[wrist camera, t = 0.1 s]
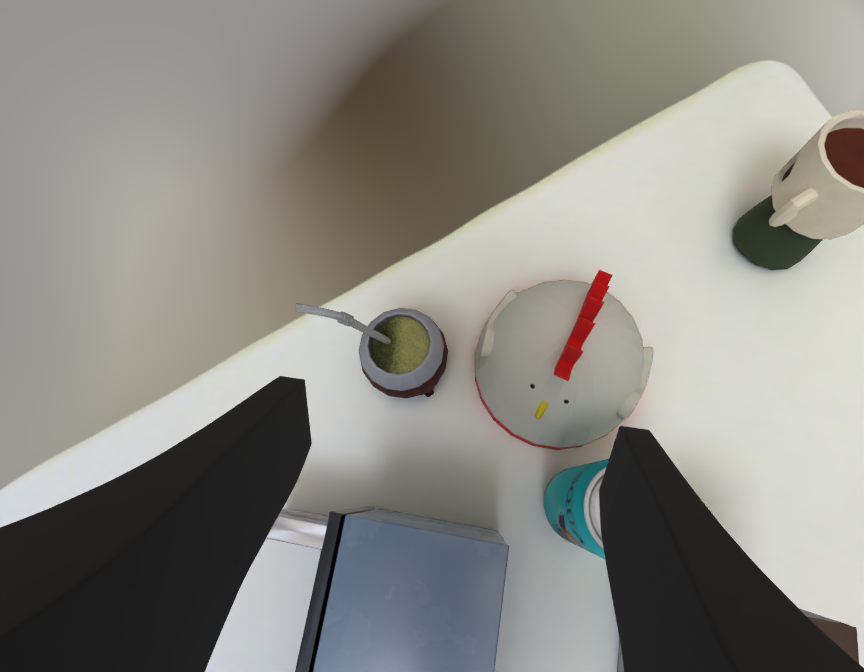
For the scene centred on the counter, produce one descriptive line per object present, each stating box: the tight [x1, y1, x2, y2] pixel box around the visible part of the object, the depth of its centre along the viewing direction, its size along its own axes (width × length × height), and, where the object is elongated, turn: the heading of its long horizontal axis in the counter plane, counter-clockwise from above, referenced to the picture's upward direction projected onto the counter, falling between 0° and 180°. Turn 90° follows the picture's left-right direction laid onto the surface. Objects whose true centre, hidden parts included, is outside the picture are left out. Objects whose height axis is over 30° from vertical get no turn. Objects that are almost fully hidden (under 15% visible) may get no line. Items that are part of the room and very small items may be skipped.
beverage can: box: [544, 459, 609, 559], centre depth 34 cm, size 6×6×15 cm
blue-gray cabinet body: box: [313, 509, 509, 672], centre depth 33 cm, size 10×16×12 cm, turn 170°
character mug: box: [734, 110, 864, 270], centre depth 40 cm, size 11×7×13 cm, turn 120°
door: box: [266, 507, 375, 672], centre depth 34 cm, size 8×16×12 cm, turn 170°
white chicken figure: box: [475, 270, 653, 450], centre depth 37 cm, size 14×14×15 cm
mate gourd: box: [296, 303, 448, 398], centre depth 38 cm, size 8×8×15 cm
